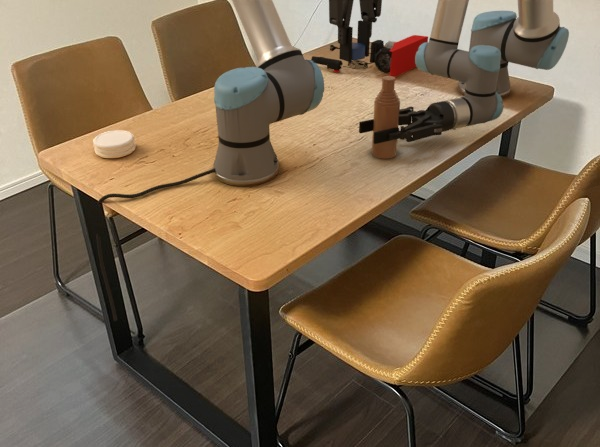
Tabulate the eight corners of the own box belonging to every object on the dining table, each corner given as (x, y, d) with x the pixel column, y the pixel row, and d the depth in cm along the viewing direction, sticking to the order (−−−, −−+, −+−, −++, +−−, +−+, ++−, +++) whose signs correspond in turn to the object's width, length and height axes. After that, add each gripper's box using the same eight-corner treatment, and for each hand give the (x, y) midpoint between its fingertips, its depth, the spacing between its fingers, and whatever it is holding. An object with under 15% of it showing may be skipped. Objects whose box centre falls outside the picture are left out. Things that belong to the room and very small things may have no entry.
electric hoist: (310, 36, 203) (391, 51, 188) (352, 23, 222) (429, 35, 207) (309, 67, 208) (388, 83, 193) (351, 51, 227) (425, 65, 212)
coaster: (106, 163, 150) (103, 149, 148) (88, 149, 156) (85, 137, 155) (143, 150, 156) (141, 137, 154) (124, 138, 162) (122, 126, 160)
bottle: (367, 150, 155) (371, 75, 144) (389, 146, 156) (394, 72, 146) (378, 160, 150) (382, 83, 139) (400, 156, 151) (406, 80, 141)
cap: (350, 61, 121) (350, 49, 119) (340, 55, 124) (341, 44, 123) (368, 58, 122) (369, 47, 121) (358, 52, 125) (359, 41, 124)
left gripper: (337, -66, 104) (334, 71, 116) (407, -75, 113) (397, 52, 125) (308, -70, 108) (309, 61, 121) (377, -79, 117) (371, 44, 130)
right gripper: (468, 143, 150) (387, 163, 142) (423, 116, 165) (347, 132, 157) (473, 114, 146) (389, 133, 138) (426, 89, 161) (348, 104, 153)
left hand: (354, 57), depth 123 cm, fingers closed on cap, 4 cm apart
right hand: (367, 132), depth 148 cm, fingers closed on bottle, 6 cm apart
